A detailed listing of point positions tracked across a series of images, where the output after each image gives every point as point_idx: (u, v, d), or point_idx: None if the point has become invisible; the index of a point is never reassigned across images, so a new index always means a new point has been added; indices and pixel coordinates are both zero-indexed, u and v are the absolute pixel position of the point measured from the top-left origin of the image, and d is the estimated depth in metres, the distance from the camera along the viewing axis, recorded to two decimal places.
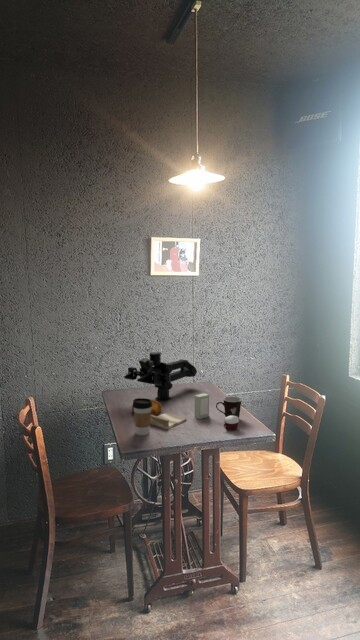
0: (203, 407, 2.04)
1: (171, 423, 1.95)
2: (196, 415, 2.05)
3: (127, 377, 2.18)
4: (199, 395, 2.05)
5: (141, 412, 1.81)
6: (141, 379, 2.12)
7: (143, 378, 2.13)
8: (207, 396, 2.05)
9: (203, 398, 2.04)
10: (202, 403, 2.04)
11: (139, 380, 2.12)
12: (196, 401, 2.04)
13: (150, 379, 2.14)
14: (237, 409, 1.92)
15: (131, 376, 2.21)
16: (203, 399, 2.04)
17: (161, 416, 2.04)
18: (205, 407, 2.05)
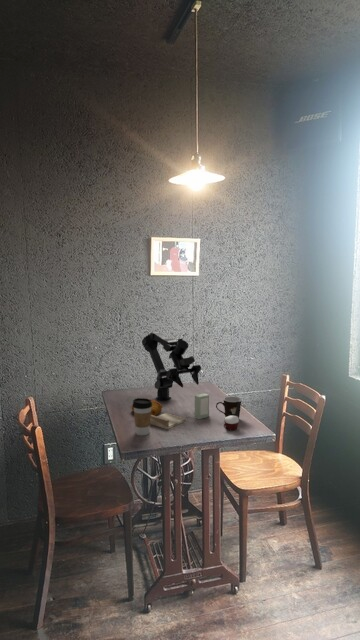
0: (203, 407, 2.04)
1: (171, 423, 1.95)
2: (196, 415, 2.05)
3: None
4: (199, 395, 2.05)
5: (141, 412, 1.81)
6: None
7: None
8: (207, 396, 2.05)
9: (203, 398, 2.04)
10: (202, 403, 2.04)
11: None
12: (196, 401, 2.04)
13: None
14: (237, 409, 1.92)
15: None
16: (203, 399, 2.04)
17: (161, 416, 2.04)
18: (205, 407, 2.05)
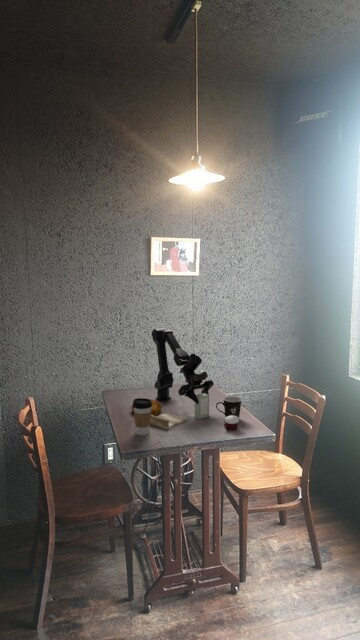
0: (203, 407, 2.04)
1: (171, 423, 1.95)
2: (196, 415, 2.05)
3: None
4: (199, 395, 2.05)
5: (141, 412, 1.81)
6: None
7: None
8: (207, 396, 2.05)
9: (203, 398, 2.04)
10: (202, 403, 2.04)
11: None
12: None
13: None
14: (237, 409, 1.92)
15: None
16: (203, 399, 2.04)
17: (161, 416, 2.04)
18: (205, 407, 2.05)
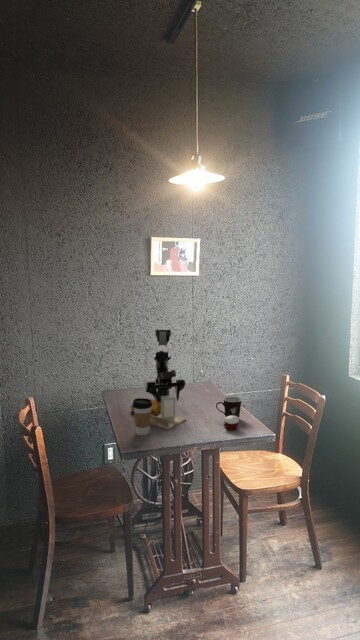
0: (167, 409, 1.98)
1: (171, 423, 1.95)
2: (161, 416, 2.00)
3: None
4: (164, 396, 1.99)
5: (141, 412, 1.81)
6: (178, 396, 2.01)
7: (178, 394, 2.01)
8: (172, 398, 1.98)
9: (167, 400, 1.98)
10: (166, 405, 1.98)
11: None
12: (161, 402, 1.99)
13: (181, 388, 2.05)
14: (237, 409, 1.92)
15: None
16: (167, 401, 1.98)
17: None
18: (170, 409, 1.98)
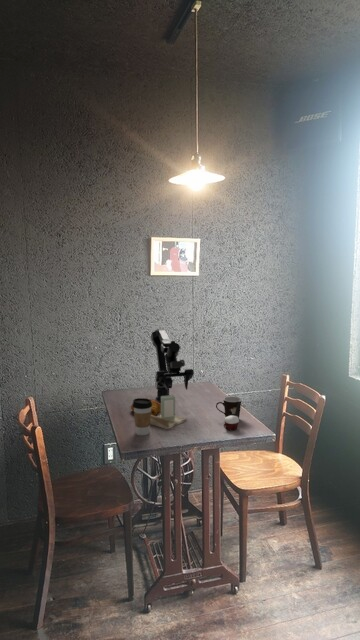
0: (167, 409, 1.98)
1: (171, 423, 1.95)
2: (161, 416, 2.00)
3: None
4: (164, 396, 1.99)
5: (141, 412, 1.81)
6: None
7: None
8: (172, 398, 1.98)
9: (167, 400, 1.98)
10: (166, 405, 1.98)
11: None
12: (161, 402, 1.99)
13: (189, 378, 2.11)
14: (237, 409, 1.92)
15: None
16: (167, 401, 1.98)
17: None
18: (170, 409, 1.98)
